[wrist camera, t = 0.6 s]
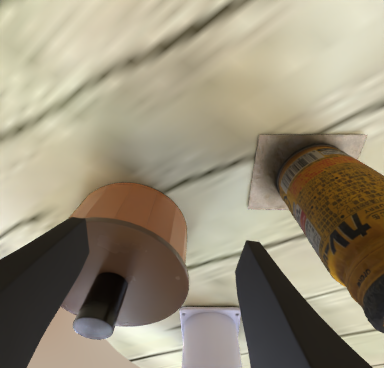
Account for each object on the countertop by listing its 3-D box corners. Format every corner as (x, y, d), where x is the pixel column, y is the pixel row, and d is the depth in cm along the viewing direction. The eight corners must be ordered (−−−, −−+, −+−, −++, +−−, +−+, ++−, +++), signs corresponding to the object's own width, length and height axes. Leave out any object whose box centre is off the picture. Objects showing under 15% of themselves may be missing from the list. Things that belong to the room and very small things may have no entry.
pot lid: (192, 315, 21) (190, 374, 17) (68, 314, 21) (37, 371, 17) (185, 210, 15) (180, 262, 11) (14, 212, 15) (-51, 263, 11)
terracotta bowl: (189, 266, 25) (186, 318, 20) (94, 266, 26) (68, 317, 20) (183, 181, 20) (177, 221, 14) (64, 183, 20) (17, 223, 15)
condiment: (336, 209, 21) (480, 358, 10) (247, 207, 21) (296, 352, 10) (365, 133, 17) (631, 240, 7) (258, 133, 17) (349, 235, 7)
